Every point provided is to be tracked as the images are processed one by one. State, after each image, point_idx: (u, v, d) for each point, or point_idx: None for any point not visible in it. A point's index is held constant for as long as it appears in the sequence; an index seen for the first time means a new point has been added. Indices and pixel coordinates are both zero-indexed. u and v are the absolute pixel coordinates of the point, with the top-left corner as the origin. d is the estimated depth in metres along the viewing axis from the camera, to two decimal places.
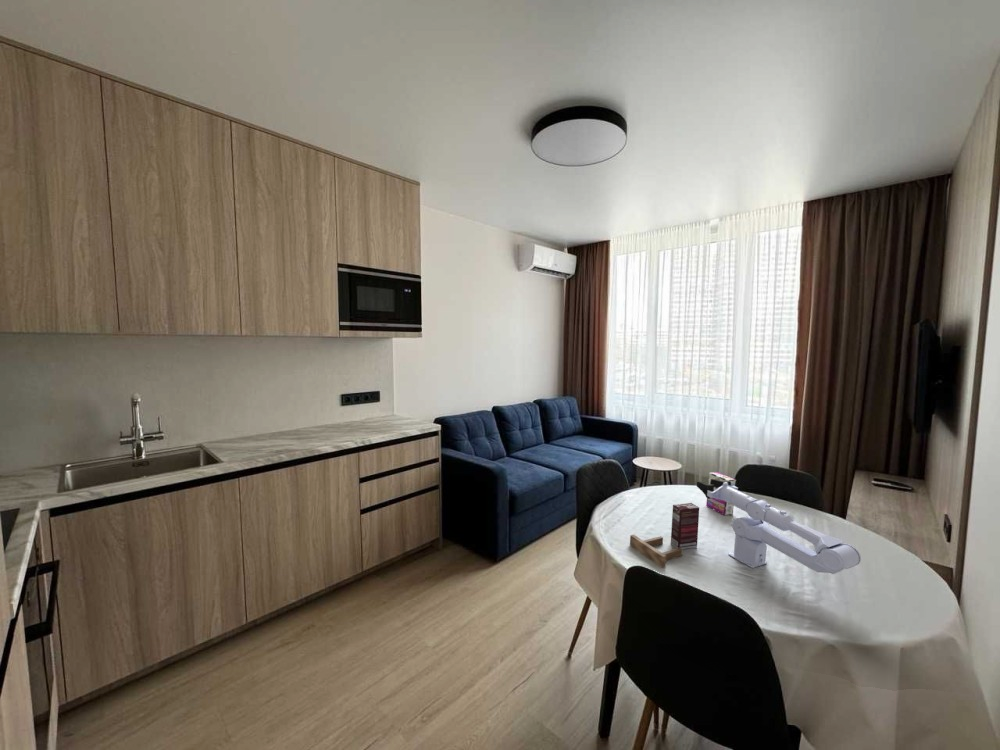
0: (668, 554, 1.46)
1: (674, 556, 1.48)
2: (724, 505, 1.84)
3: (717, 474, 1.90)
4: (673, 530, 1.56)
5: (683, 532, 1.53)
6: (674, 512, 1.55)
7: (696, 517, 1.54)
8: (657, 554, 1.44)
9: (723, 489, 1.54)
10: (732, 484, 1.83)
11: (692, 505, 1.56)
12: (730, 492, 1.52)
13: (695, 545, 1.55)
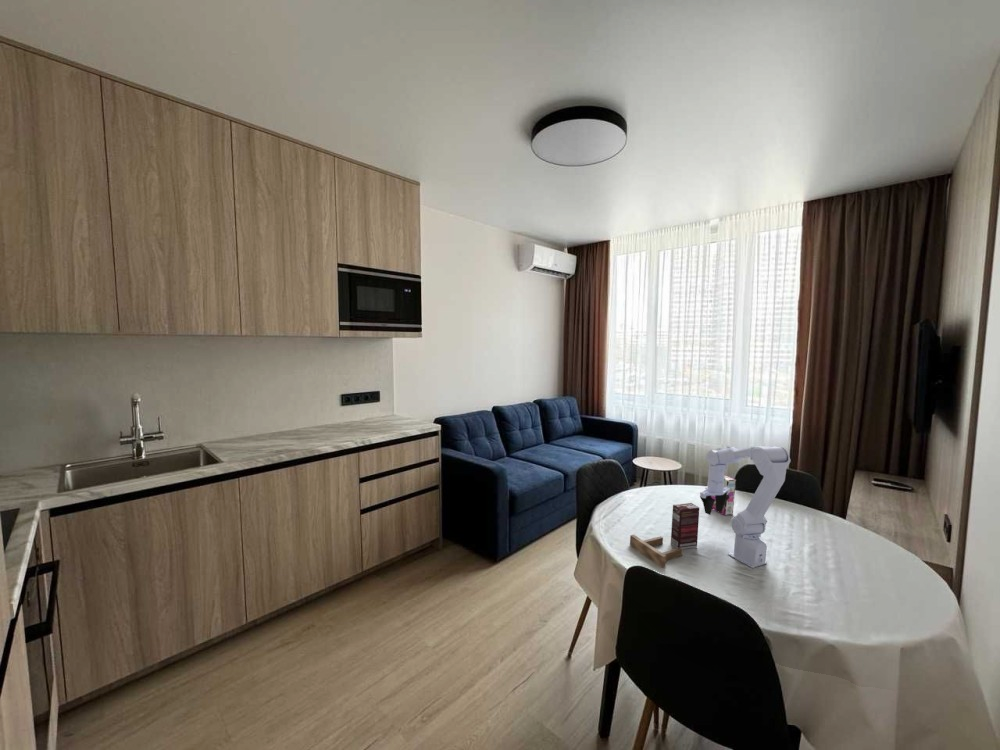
0: (668, 554, 1.46)
1: (674, 556, 1.48)
2: (724, 505, 1.84)
3: None
4: (673, 530, 1.56)
5: (683, 532, 1.53)
6: (674, 512, 1.55)
7: (696, 517, 1.54)
8: (657, 554, 1.44)
9: (707, 487, 1.65)
10: (732, 484, 1.83)
11: (692, 505, 1.56)
12: (708, 481, 1.65)
13: (695, 545, 1.55)
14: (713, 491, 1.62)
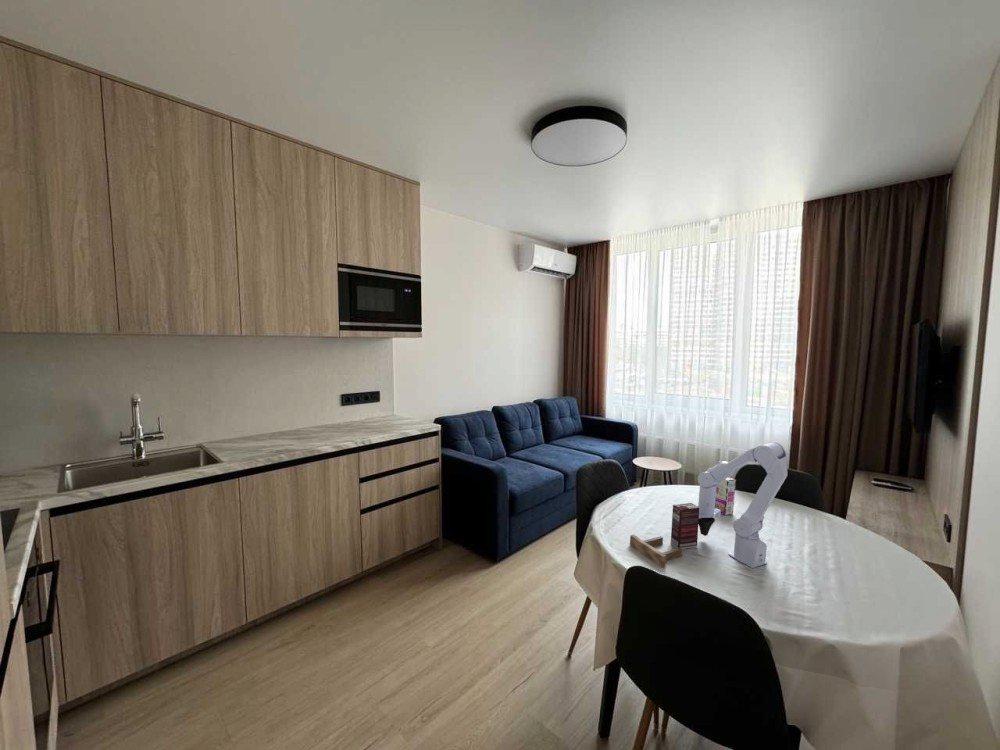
0: (668, 554, 1.46)
1: (674, 556, 1.48)
2: (724, 505, 1.84)
3: None
4: (673, 530, 1.56)
5: (683, 532, 1.53)
6: (674, 512, 1.55)
7: (696, 517, 1.54)
8: (657, 554, 1.44)
9: None
10: (732, 484, 1.83)
11: (692, 505, 1.56)
12: (698, 502, 1.61)
13: (695, 545, 1.55)
14: (703, 513, 1.58)
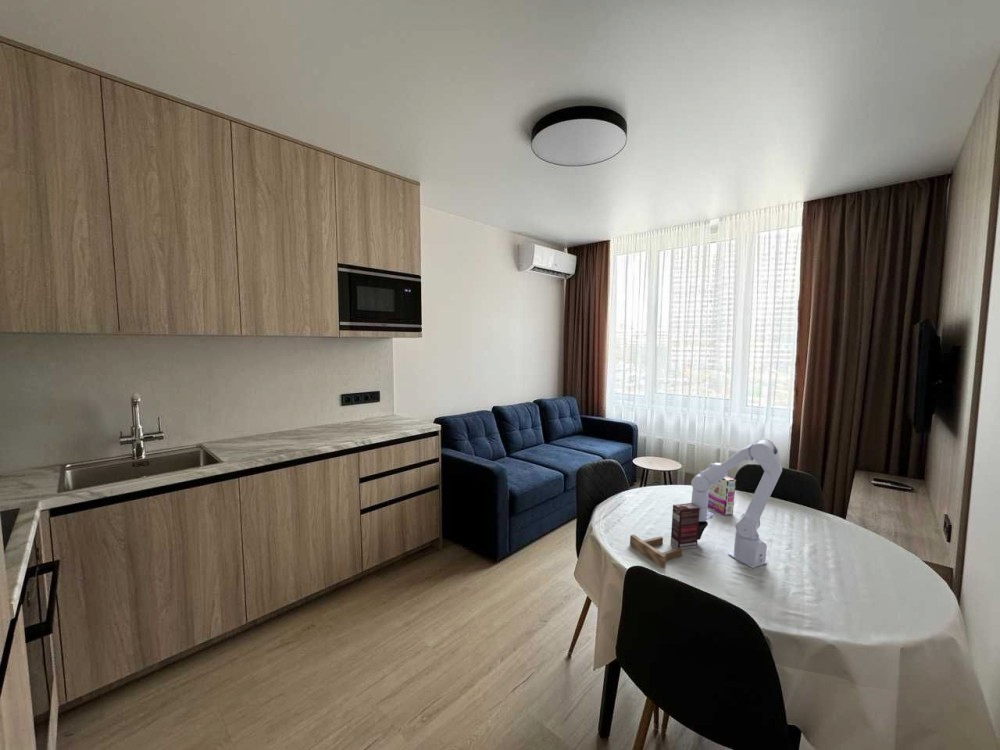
0: (668, 554, 1.46)
1: (674, 556, 1.48)
2: (724, 505, 1.84)
3: None
4: (673, 530, 1.56)
5: (683, 532, 1.53)
6: (674, 512, 1.55)
7: (696, 517, 1.54)
8: (657, 554, 1.44)
9: None
10: (732, 484, 1.83)
11: (692, 505, 1.56)
12: None
13: (695, 545, 1.55)
14: None
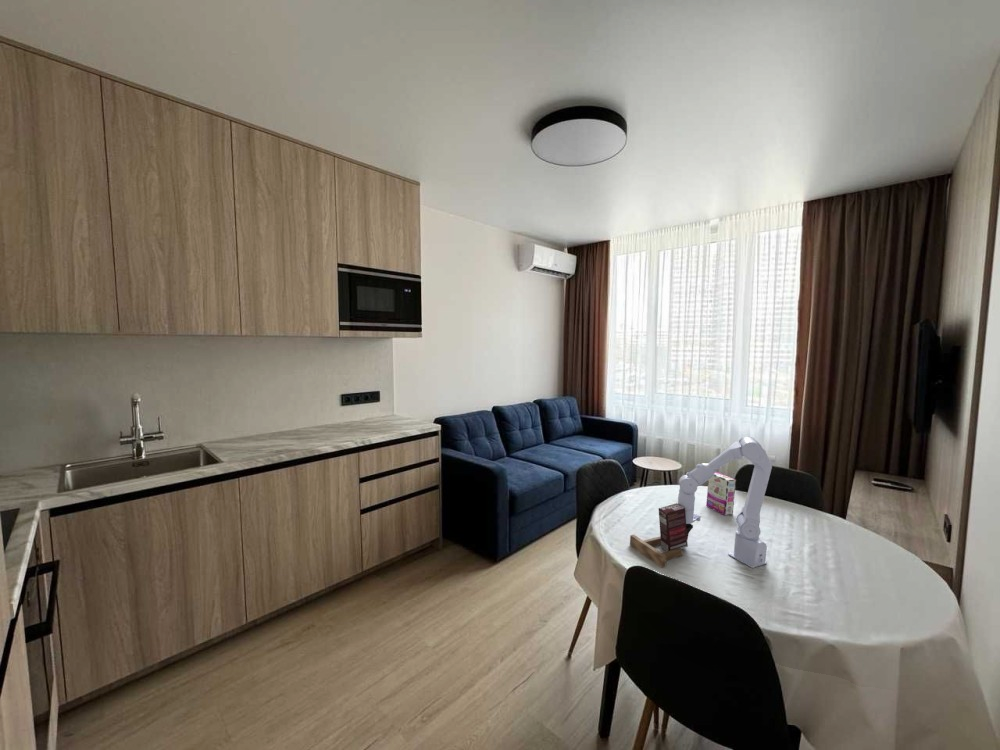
0: (668, 554, 1.46)
1: (674, 556, 1.48)
2: (724, 505, 1.84)
3: (717, 474, 1.90)
4: (662, 533, 1.53)
5: (672, 534, 1.51)
6: (660, 516, 1.52)
7: (683, 518, 1.52)
8: (657, 554, 1.44)
9: None
10: (732, 484, 1.83)
11: (678, 506, 1.53)
12: None
13: (685, 545, 1.53)
14: None
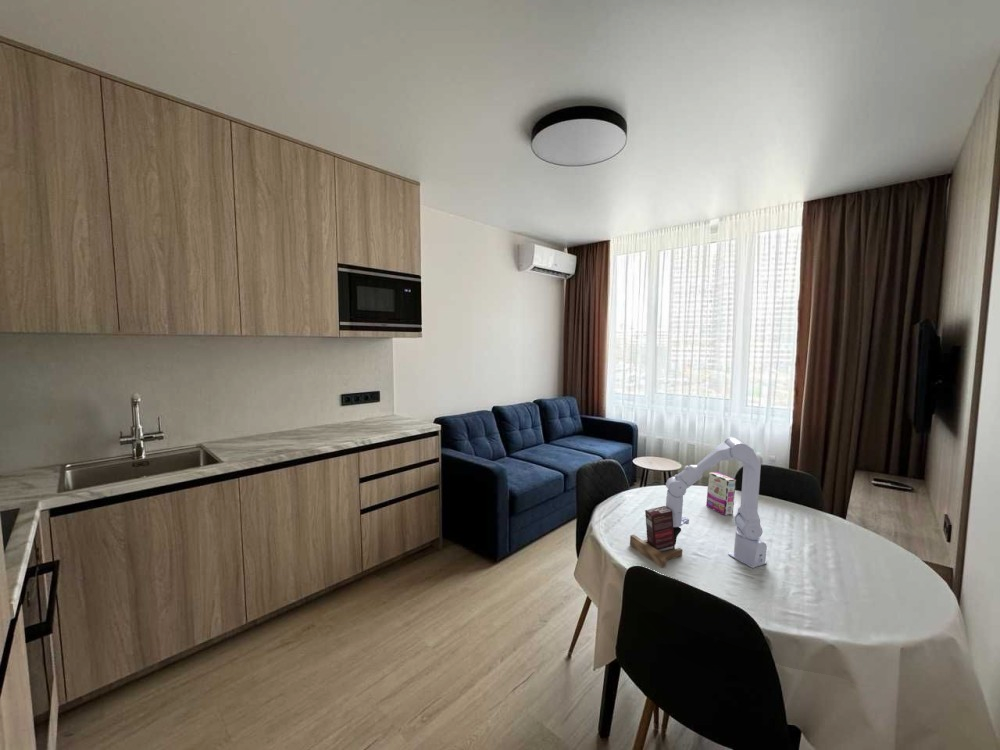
0: (668, 554, 1.46)
1: (674, 556, 1.48)
2: (724, 505, 1.84)
3: (717, 474, 1.90)
4: (648, 536, 1.51)
5: (658, 537, 1.48)
6: (647, 518, 1.50)
7: (670, 521, 1.49)
8: (657, 554, 1.44)
9: None
10: (732, 484, 1.83)
11: (665, 509, 1.50)
12: None
13: (672, 549, 1.50)
14: None
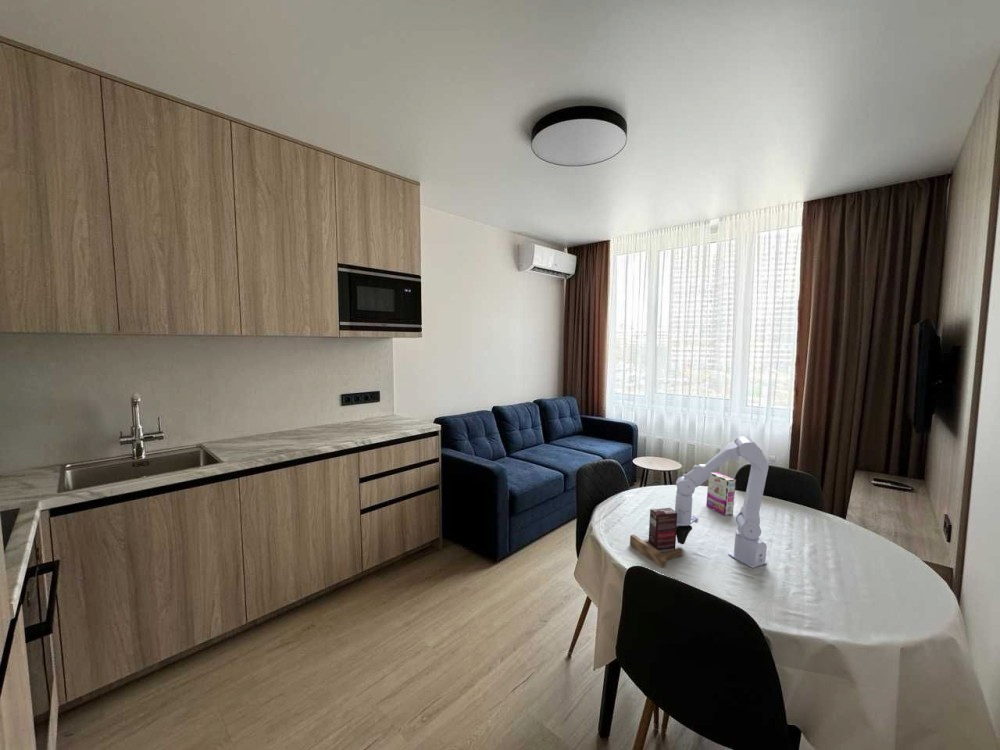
0: (668, 554, 1.46)
1: (674, 556, 1.48)
2: (724, 505, 1.84)
3: (717, 474, 1.90)
4: (650, 535, 1.51)
5: (660, 537, 1.49)
6: (651, 517, 1.51)
7: (674, 522, 1.49)
8: (657, 554, 1.44)
9: None
10: (732, 484, 1.83)
11: (670, 510, 1.51)
12: (675, 510, 1.56)
13: None
14: (680, 521, 1.53)
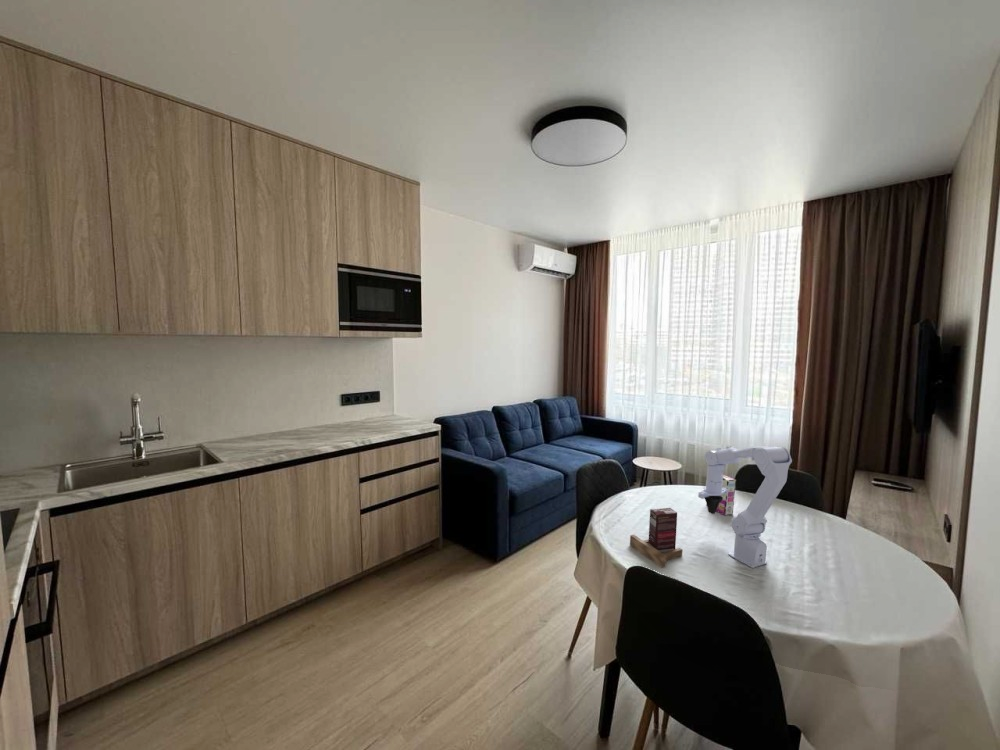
0: (668, 554, 1.46)
1: (674, 556, 1.48)
2: (724, 505, 1.84)
3: None
4: (650, 535, 1.51)
5: (660, 537, 1.49)
6: (651, 517, 1.51)
7: (674, 522, 1.49)
8: (657, 554, 1.44)
9: (705, 488, 1.64)
10: (732, 484, 1.83)
11: (670, 510, 1.51)
12: (706, 481, 1.64)
13: None
14: (711, 491, 1.61)
